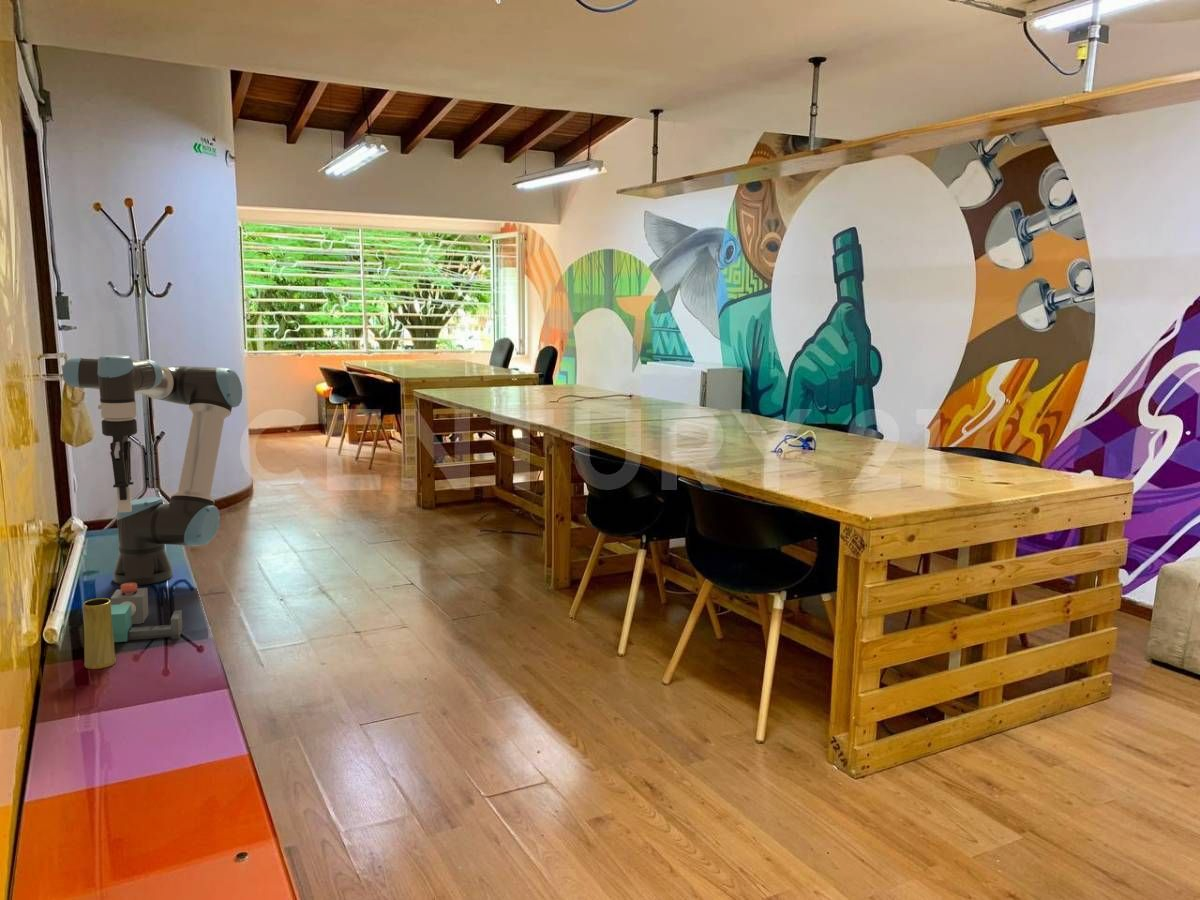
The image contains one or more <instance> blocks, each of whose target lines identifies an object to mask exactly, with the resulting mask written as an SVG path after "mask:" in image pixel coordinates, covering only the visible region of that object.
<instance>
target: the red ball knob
mask: <svg viewBox="0 0 1200 900" xmlns="http://www.w3.org/2000/svg"><path fill="white" fill-rule="evenodd" d="M137 588H138V585H137V583H133V582H131V583H124V584H120V589H121V592H122V593H125V595H133V592H136V591H137Z"/></svg>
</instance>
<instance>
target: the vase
mask: <svg viewBox="0 0 1200 900" xmlns="http://www.w3.org/2000/svg"><path fill="white" fill-rule="evenodd" d="M82 613H83V628H84V629H83V631H84V633H83V634H84V646H83V647H84V648H83V649H84V653H83V655H84V663H83V667H84V668H86V669H88V670H89V669H90V670H100V669H104V668H109V667H111V666H113V665H115V664H116V662H117V659H116V650H115V642H114V638H113V627H112V617H111V600H110V599H109V598H106V597H104V598H103V597H101V598H100V597H99V598H92V599H88V600H86V601H84V602H83V603H82Z"/></svg>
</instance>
